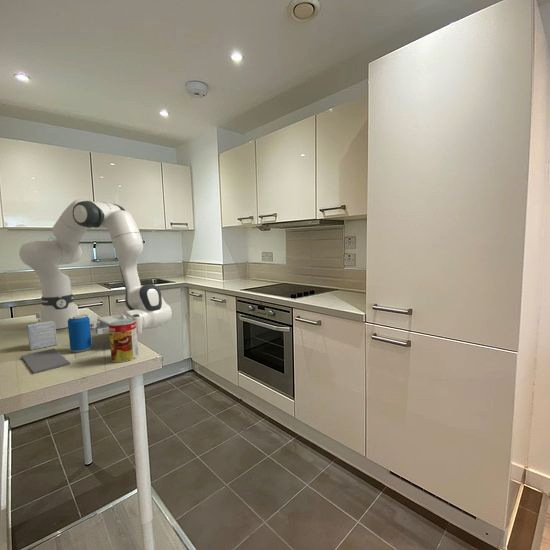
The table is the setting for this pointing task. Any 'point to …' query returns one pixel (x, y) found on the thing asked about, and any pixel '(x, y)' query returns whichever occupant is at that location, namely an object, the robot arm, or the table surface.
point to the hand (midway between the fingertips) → (92, 329)
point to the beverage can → (79, 333)
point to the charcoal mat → (44, 360)
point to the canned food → (123, 339)
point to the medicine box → (41, 335)
